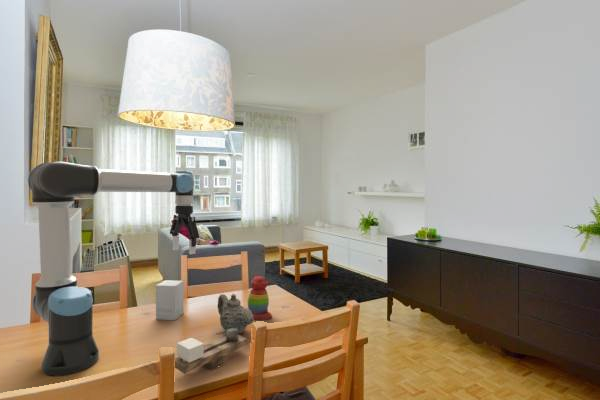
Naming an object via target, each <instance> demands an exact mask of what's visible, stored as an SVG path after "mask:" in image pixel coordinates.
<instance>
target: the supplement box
mask: <svg viewBox="0 0 600 400" xmlns="http://www.w3.org/2000/svg"><path fill="white" fill-rule="evenodd" d="M184 283H185V282H184V280H171V279H164V280H163V281H161V282H159V283H157V284H156V285H155V320H159V321H160V320H161V321H162V320H163V321H177V319H178V318H180V317H181V316H182V315H183V314H184V312H185V309H184V306H185V305H184V304H185V303H184V301H185V298H184V297H185V295H184V294H185V292H184V291H185V290H184V285H185V284H184Z"/></svg>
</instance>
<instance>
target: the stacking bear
mask: <svg viewBox="0 0 600 400" xmlns="http://www.w3.org/2000/svg"><path fill="white" fill-rule="evenodd" d="M250 284H251V290H250V291H249V293H248V296H247V308H248V309H249V310H251V312H252V314H253V317H254V318H253V319H254V320H258V321H260V320H261V321H262V320H270V319H272V318H273V315H272V313H271V312H269V310H268V309H269V308H268V307H269V303H270V301H269V294H268V290H267V289H266V288H267V287H268V284H269V283H268V281H267V280H266V279H265V278H264V277H263V276H259V275H254V277H253V278H252V279H251V282H250Z"/></svg>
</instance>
